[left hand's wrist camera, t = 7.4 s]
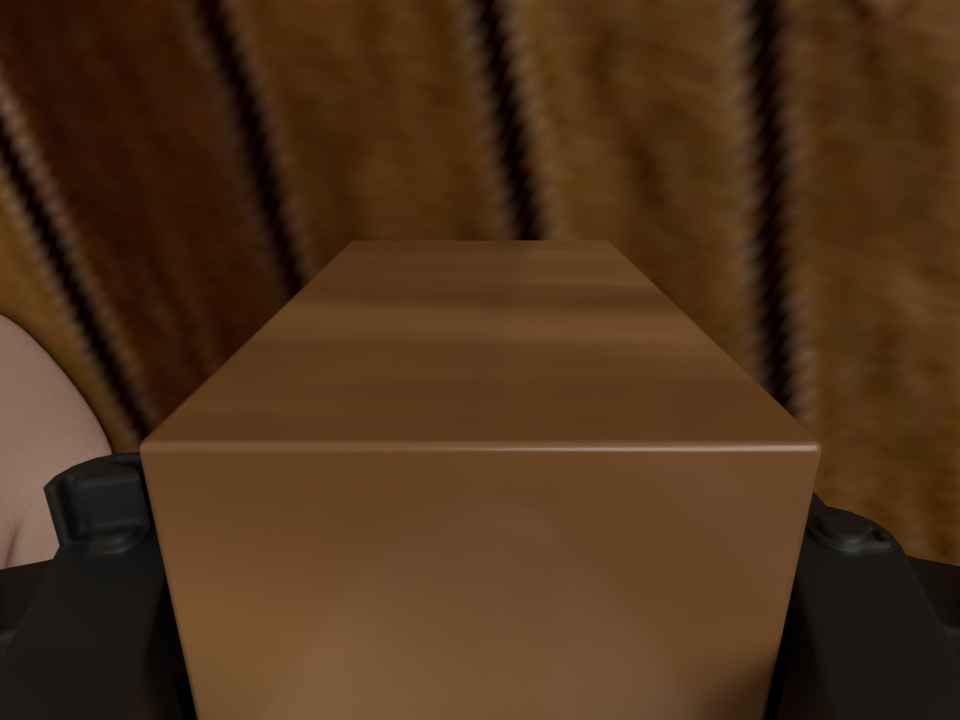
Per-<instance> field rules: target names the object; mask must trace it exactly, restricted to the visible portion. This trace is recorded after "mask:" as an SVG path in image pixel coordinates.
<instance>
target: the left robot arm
mask: <svg viewBox="0 0 960 720" xmlns="http://www.w3.org/2000/svg"><path fill="white" fill-rule="evenodd" d="M43 490H44V493H45V497H46V500H47V504H48V507H49V511H50V514H51V518H52V521H53V525H54V528H55V532H56V535H57V539H58V542H59V548H58V550H57V552H56V554H55V556H54V558H53V559H50V560H46V561H41V562H36V563H31V564H26V565H21V566H15V567H10V568H5V569H0V720H197V716H196V711H195V707H194V702H193V698H192V693H191V688H190V684H189V679H188V674H187V670H186V665H185V661H184V656H183V651H182V647H181V642H180V637H179V633H178V628H177V623H176V619H175V614H174V610H173V605H172V600H171V596H170V591H169V586H168V582H167V577H166V573H165V568H164V563H163V559H162V554H161V549H160V545H159V540H158V536H157V531H156V526H155V522H154V517H153V512H152V508H151V503H150V499H149V494H148V489H147V485H146V480H145V475H144V471H143V466H142V462H141V457H140V452H135V453H117V454H112V455H107V456H102V457H97V458H94V459H91V460H88V461H85V462H82V463H80V464H77V465H74V466H72V467H70V468H68V469H67V470H65V471H63V472H61V473H59V474H58V475H56V476H54V477H53V478H52V479H51V480H50V481H49V482H48V483H47V484H46V485H45V486H44V487H43ZM764 720H960V566H955V565H950V564H944V563H939V562H934V561H929V560H924V559H918V558H914V557H910V556H906V555H905V553H904V551H903V549H902V547H901V545H900V544H899V543H898V542H897V540H896V539H895V538H894V537H893V536H892V535H891V533H890V532H888V531H887V530H885V529H884V528H882V527H881V526H879V525H878V524H876V523H875V522H873V521H871V520H869V519H867V518H864V517H862V516H859V515H857V514H855V513H852V512H849V511H845V510H840V509H836V508H832V507H827V506H826V505H825V504H824V503H823V502H822V501H821V499H820V498H819V497H818V496H817V495H816V494H815V493H814V492H813V494H812V499H811V503H810V508H809V513H808V517H807V522H806V526H805V531H804V536H803V540H802V545H801V549H800V554H799V559H798V563H797V568H796V572H795V577H794V582H793V586H792V591H791V595H790V600H789V605H788V609H787V614H786V618H785V623H784V628H783V632H782V637H781V641H780V646H779V651H778V655H777V660H776V665H775V669H774V674H773V678H772V683H771V688H770V692H769V697H768V701H767V706H766V711H765V715H764Z"/></svg>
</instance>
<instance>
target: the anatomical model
mask: <svg viewBox="0 0 960 720" xmlns="http://www.w3.org/2000/svg"><path fill="white" fill-rule="evenodd" d="M107 455H112V451H111V448H110V446H109V443H108V441H107V438H106V436H105V434H104V432H103V430H102V428H101V426H100V424H99V422H98V420H97V418H96V417H95V415H94V414H93V412H92V410H91V409H90V407H89V406H88V404H87V403H86V401H85V399H84V398H83V397H82V395H81V394H80V393H79V391H78V390H77V389H76V387H75V386H74V385H73V383H72V382H71V381H70V379H69V378H68V377H67V376H66V374H65V373H64V372H63V371H62V370H61V368H60V367H59V366H58V365H57V364H56V363H55V361H54V360H53V359H52V358H51V357H50V355H49V354H48V353H47V352H46V351H45V350H44V349H43V348H42V347H41V346H40V345H39V344H38V343H37V342H36V341H35V340H34V339H33V338H32V337H31V336H30V335H29V334H28V333H27V332H26V331H25V330H23V329H22V328H21V327H20V326H18V325H17V324H15V323H14V322H12V321H11V320H10V319H8V318H6V317H4V316H2V315H0V569H5V568H10V567H15V566H21V565H26V564H31V563H36V562H41V561H46V560H50V559H53V558H54V556H55V554H56V552H57V550H58V548H59V542H58V539H57V535H56V532H55V528H54V525H53V521H52V518H51V514H50V511H49V507H48V504H47V500H46V497H45V493H44V490H43V487H44V486H45V485H46V484H47V483H48V482H49V481H50V480H51V479H52V478H53V477H54V476H56V475H58V474H59V473H61V472H63V471H65V470H67V469H68V468H70V467H72V466H74V465H77V464H80V463H82V462H85V461H88V460H91V459H94V458H97V457H102V456H107Z"/></svg>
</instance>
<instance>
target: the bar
mask: <svg viewBox="0 0 960 720" xmlns="http://www.w3.org/2000/svg"><path fill="white" fill-rule="evenodd" d="M821 453H822V451H821V445H820V442H819V441H818V440H817V439H816V438H815V437H814V436H812V435H811V434H810V433H809V432H808V431H807V430H806V429H805V428H804V427H803V426H802V425H801V424H800V423H799V422H798V421H797V420H796V419H795V418H794V417H793V416H792V415H790V414H789V413H788V412H787V411H786V410H785V409H784V408H783V407H782V406H781V405H780V404H779V403H778V402H777V401H776V400H775V399H774V398H773V397H772V396H771V395H769V394H768V393H767V392H766V391H765V390H764V389H763V388H762V387H761V386H760V385H759V384H758V383H757V382H756V381H755V380H754V379H753V378H752V377H751V376H750V375H748V374H747V373H746V372H745V371H744V370H743V369H742V368H741V367H740V366H739V365H738V364H737V363H736V362H735V361H734V360H733V359H732V358H731V357H730V356H729V355H728V354H726V353H725V352H724V351H723V350H722V349H721V348H720V347H719V346H718V345H717V344H716V343H715V342H714V341H713V340H712V339H711V338H710V337H709V336H708V335H707V334H705V333H704V332H703V331H702V330H701V329H700V328H699V327H698V326H697V325H696V324H695V323H694V322H693V321H692V320H691V319H690V318H689V317H688V316H687V315H686V314H685V313H683V312H682V311H681V310H680V309H679V308H678V307H677V306H676V305H675V304H674V303H673V302H672V301H671V300H670V299H669V298H668V297H667V296H666V295H665V294H664V293H662V292H661V291H660V290H659V289H658V288H657V287H656V286H655V285H654V284H653V283H652V282H651V281H650V280H649V279H648V278H647V277H646V276H645V275H644V274H643V273H641V272H640V271H639V270H638V269H637V268H636V267H635V266H634V265H633V264H632V263H631V262H630V261H629V260H628V259H627V258H626V257H625V256H624V255H623V254H622V253H621V252H619V251H618V250H617V249H616V248H615V247H614V246H613V245H612V244H611V243H610V242H609V241H352V242H350V243H349V244H348V245H347V246H346V247H345V248H344V249H343V250H342V251H341V252H340V253H339V254H338V255H337V256H336V257H335V258H334V259H333V260H331V261H330V262H329V263H328V264H327V265H326V266H325V267H324V268H323V269H322V270H321V271H320V272H319V273H318V274H317V275H316V276H315V277H314V278H313V279H312V280H311V281H310V282H308V283H307V284H306V285H305V286H304V287H303V288H302V289H301V290H300V291H299V292H298V293H297V294H296V295H295V296H294V297H293V298H292V299H291V300H290V301H289V302H288V303H287V304H285V305H284V306H283V307H282V308H281V309H280V310H279V311H278V312H277V313H276V314H275V315H274V316H273V317H272V318H271V319H270V320H269V321H268V322H267V323H266V324H265V325H264V326H262V327H261V328H260V329H259V330H258V331H257V332H256V333H255V334H254V335H253V336H252V337H251V338H250V339H249V340H248V341H247V342H246V343H245V344H244V345H243V346H242V347H241V348H239V349H238V350H237V351H236V352H235V353H234V354H233V355H232V356H231V357H230V358H229V359H228V360H227V361H226V362H225V363H224V364H223V365H222V366H221V367H220V368H219V369H218V370H216V371H215V372H214V373H213V374H212V375H211V376H210V377H209V378H208V379H207V380H206V381H205V382H204V383H203V384H202V385H201V386H200V387H199V388H198V389H197V390H196V391H195V392H193V393H192V394H191V395H190V396H189V397H188V398H187V399H186V400H185V401H184V402H183V403H182V404H181V405H180V406H179V407H178V408H177V409H176V410H175V411H174V412H173V413H171V414H170V415H169V416H168V417H167V418H166V419H165V420H164V421H163V422H162V423H161V424H160V425H159V426H158V427H157V428H156V429H155V430H154V431H153V432H152V433H151V434H150V435H148V436H147V437H146V438H145V439H144V440H143V441H142V443H141V445H140V457H141V462H142V466H143V471H144V475H145V480H146V485H147V489H148V494H149V499H150V503H151V508H152V512H153V517H154V522H155V526H156V531H157V536H158V540H159V545H160V549H161V554H162V559H163V563H164V568H165V573H166V577H167V582H168V586H169V591H170V596H171V600H172V605H173V610H174V614H175V619H176V623H177V628H178V633H179V637H180V642H181V647H182V651H183V656H184V661H185V665H186V670H187V674H188V679H189V684H190V688H191V693H192V698H193V702H194V707H195V711H196V716H197V720H764V715H765V711H766V706H767V701H768V697H769V692H770V688H771V683H772V678H773V674H774V669H775V665H776V660H777V655H778V651H779V646H780V641H781V637H782V632H783V628H784V623H785V618H786V614H787V609H788V605H789V600H790V595H791V591H792V586H793V582H794V577H795V572H796V568H797V563H798V559H799V554H800V549H801V545H802V540H803V536H804V531H805V526H806V522H807V517H808V513H809V508H810V503H811V499H812V494H813V489H814V485H815V480H816V476H817V471H818V466H819V462H820V457H821Z"/></svg>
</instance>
